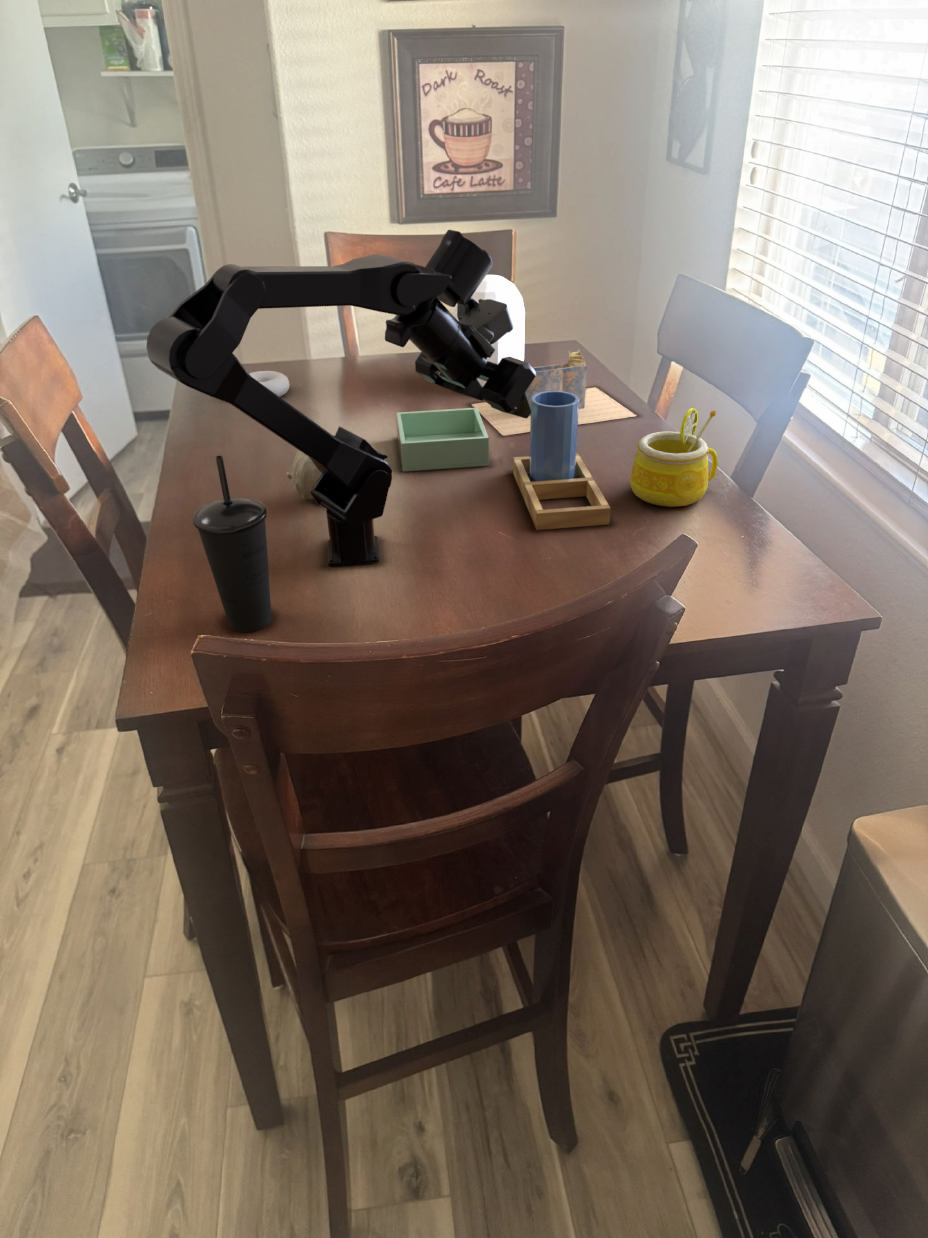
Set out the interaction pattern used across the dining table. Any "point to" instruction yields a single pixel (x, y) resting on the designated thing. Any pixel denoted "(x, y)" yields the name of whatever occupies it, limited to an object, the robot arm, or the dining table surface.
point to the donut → (272, 381)
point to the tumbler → (553, 436)
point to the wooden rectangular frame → (562, 489)
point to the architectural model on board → (559, 379)
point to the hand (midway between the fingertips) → (505, 406)
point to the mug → (673, 466)
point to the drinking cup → (237, 556)
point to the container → (508, 294)
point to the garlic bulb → (304, 475)
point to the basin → (442, 439)
